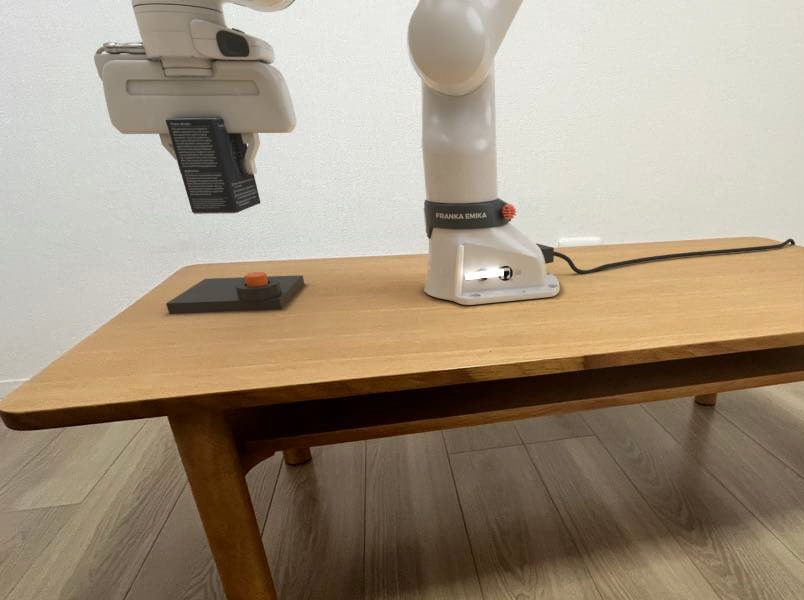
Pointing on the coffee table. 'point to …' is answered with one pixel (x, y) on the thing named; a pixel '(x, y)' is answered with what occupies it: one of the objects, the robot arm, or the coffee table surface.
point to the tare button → (256, 279)
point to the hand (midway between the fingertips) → (220, 174)
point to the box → (212, 165)
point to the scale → (236, 295)
